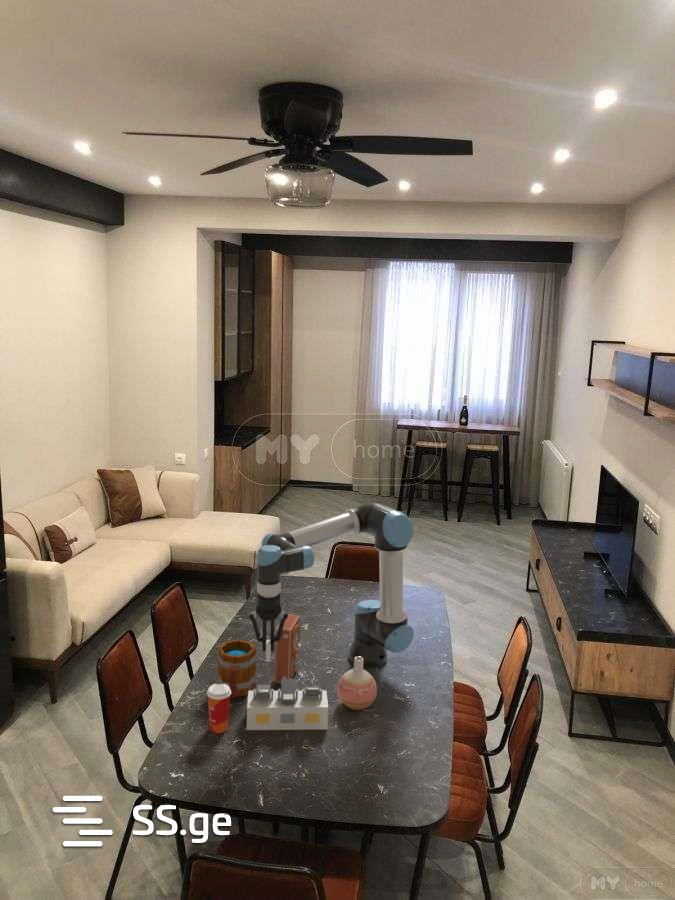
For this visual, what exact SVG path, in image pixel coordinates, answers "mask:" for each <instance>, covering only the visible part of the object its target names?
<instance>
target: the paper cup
mask: <svg viewBox="0 0 675 900" xmlns="http://www.w3.org/2000/svg"><path fill="white" fill-rule="evenodd" d="M206 695H207V702H208V719H209V721H208V722H209V730H210V732H211V733H213V734H223V733H226V731H227V730H228V725H229V714H230V713H229V712H230V701H231V697H230V695H231V690H230V687H229V686H228V685H226V684H218V683H214V684H212V685H210V686H209V687H208V689H207V691H206Z"/></svg>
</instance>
